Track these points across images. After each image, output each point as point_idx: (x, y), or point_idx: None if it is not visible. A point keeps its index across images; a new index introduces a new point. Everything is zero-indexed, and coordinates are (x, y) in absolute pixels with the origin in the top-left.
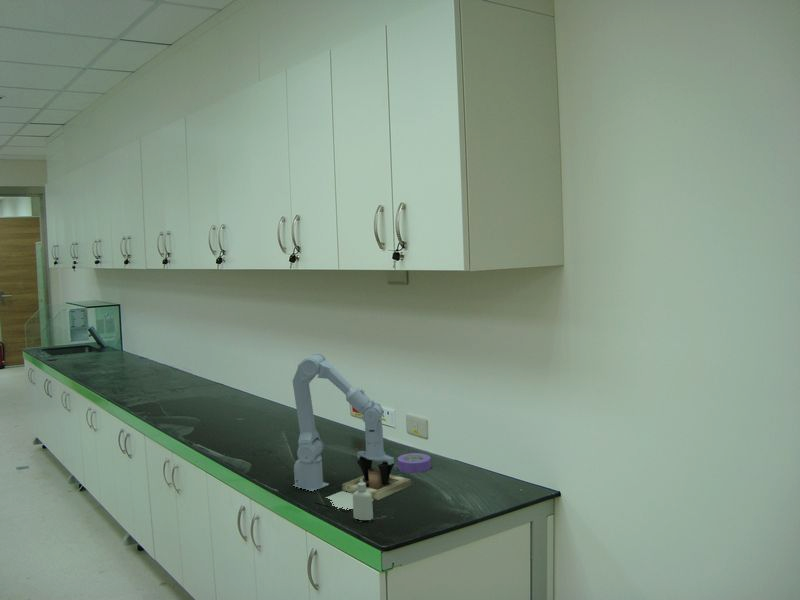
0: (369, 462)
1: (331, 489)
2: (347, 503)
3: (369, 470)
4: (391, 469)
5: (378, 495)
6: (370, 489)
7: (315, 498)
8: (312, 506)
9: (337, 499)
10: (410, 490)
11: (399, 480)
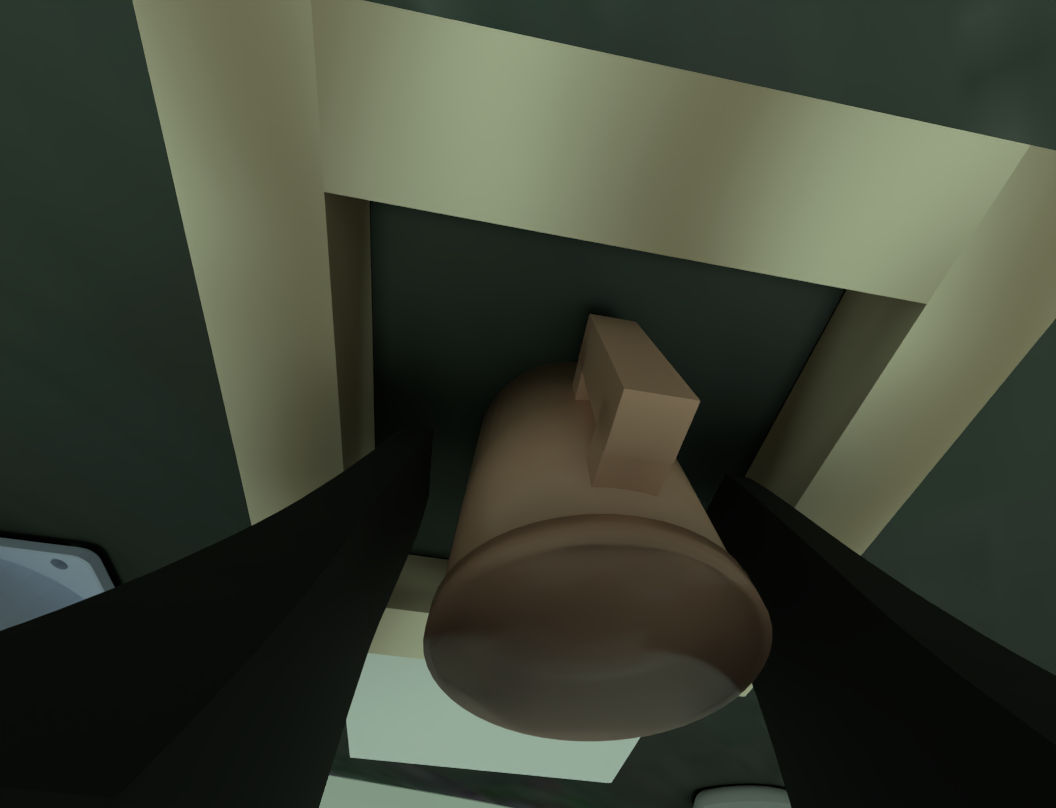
0: (273, 738)
1: None
2: None
3: (487, 701)
4: (1043, 683)
5: None
6: None
7: None
8: (382, 770)
9: (441, 712)
10: (1016, 369)
11: (914, 320)
